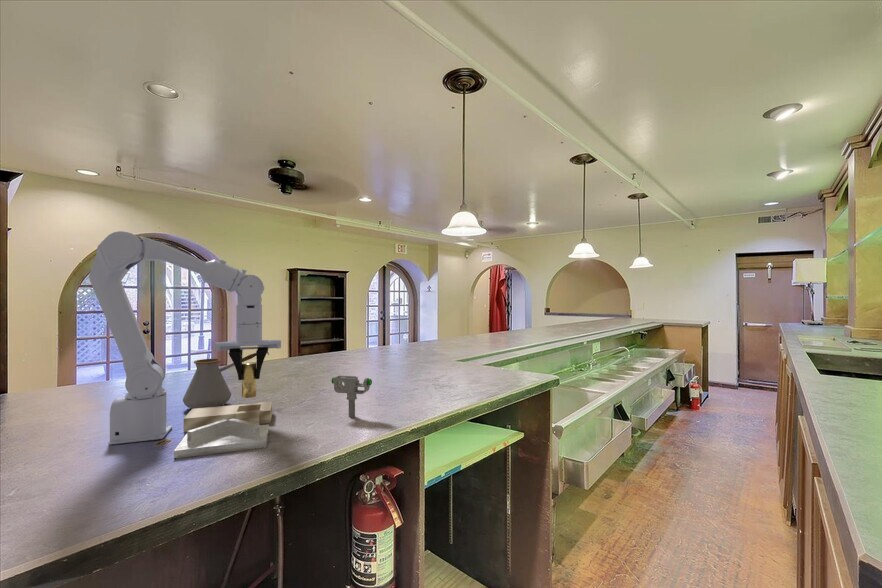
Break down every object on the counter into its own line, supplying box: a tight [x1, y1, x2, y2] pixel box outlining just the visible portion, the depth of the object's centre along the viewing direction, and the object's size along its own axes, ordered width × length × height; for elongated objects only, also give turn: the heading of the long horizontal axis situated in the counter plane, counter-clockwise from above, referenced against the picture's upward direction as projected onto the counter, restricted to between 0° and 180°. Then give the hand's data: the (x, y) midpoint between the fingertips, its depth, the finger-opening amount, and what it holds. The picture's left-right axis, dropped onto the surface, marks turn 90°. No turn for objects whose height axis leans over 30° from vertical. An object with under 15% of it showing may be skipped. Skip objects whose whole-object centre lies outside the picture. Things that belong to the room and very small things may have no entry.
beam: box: [183, 401, 273, 433], centre depth 96 cm, size 18×8×3 cm, turn 111°
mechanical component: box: [331, 375, 373, 418], centre depth 100 cm, size 3×10×10 cm, turn 79°
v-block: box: [173, 419, 270, 459], centre depth 82 cm, size 16×10×4 cm, turn 110°
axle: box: [241, 362, 258, 399], centre depth 97 cm, size 3×3×8 cm
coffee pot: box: [182, 351, 270, 411], centre depth 111 cm, size 21×12×15 cm, turn 123°
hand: (249, 378), depth 97 cm, fingers closed on axle, 3 cm apart
